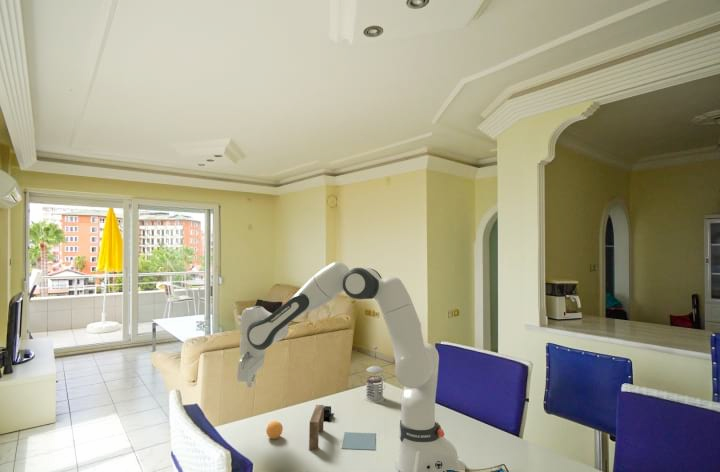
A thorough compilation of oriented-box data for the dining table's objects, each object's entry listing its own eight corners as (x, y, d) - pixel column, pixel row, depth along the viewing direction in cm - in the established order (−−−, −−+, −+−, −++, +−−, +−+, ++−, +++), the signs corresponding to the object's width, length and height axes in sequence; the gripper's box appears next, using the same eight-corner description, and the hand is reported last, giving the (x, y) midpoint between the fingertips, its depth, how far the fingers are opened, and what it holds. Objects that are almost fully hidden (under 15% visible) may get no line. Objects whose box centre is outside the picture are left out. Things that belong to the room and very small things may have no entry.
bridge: (323, 430, 150) (323, 405, 150) (317, 450, 135) (317, 422, 135) (315, 429, 150) (316, 404, 150) (309, 449, 135) (309, 422, 135)
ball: (284, 434, 146) (284, 418, 146) (280, 442, 140) (280, 425, 140) (268, 433, 146) (269, 417, 146) (264, 441, 140) (264, 425, 140)
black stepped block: (332, 426, 155) (332, 414, 155) (314, 424, 156) (315, 413, 156) (337, 413, 167) (337, 402, 167) (321, 412, 168) (321, 401, 168)
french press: (375, 393, 189) (376, 342, 190) (391, 400, 180) (392, 347, 181) (360, 397, 183) (360, 345, 184) (375, 405, 174) (376, 350, 175)
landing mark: (375, 433, 147) (375, 433, 147) (375, 450, 135) (375, 449, 135) (344, 432, 148) (344, 432, 148) (341, 448, 136) (341, 448, 136)
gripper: (250, 357, 134) (249, 396, 134) (267, 342, 155) (266, 377, 154) (233, 356, 134) (232, 396, 134) (252, 342, 155) (251, 376, 154)
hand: (250, 385), depth 144 cm, fingers closed
